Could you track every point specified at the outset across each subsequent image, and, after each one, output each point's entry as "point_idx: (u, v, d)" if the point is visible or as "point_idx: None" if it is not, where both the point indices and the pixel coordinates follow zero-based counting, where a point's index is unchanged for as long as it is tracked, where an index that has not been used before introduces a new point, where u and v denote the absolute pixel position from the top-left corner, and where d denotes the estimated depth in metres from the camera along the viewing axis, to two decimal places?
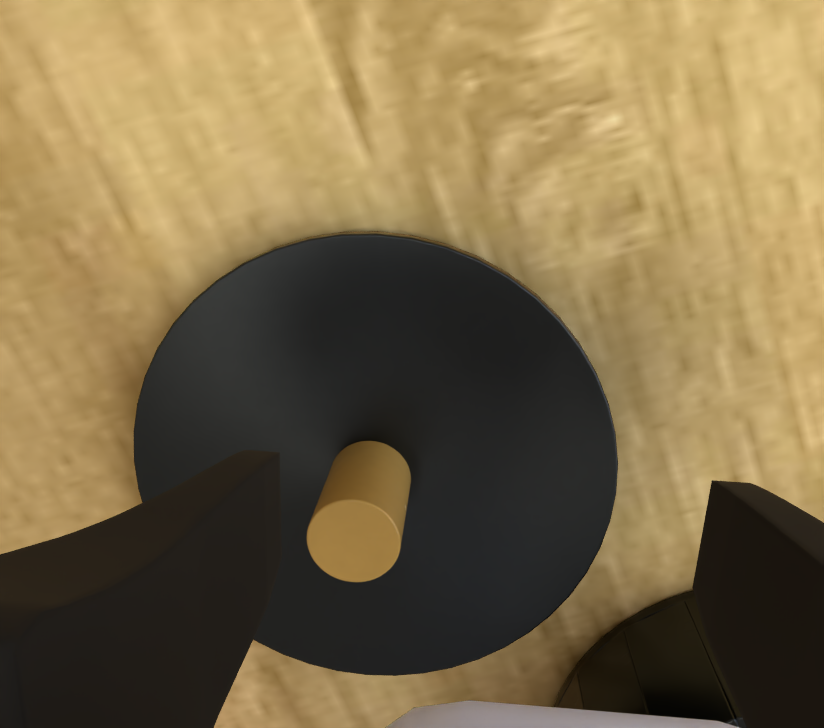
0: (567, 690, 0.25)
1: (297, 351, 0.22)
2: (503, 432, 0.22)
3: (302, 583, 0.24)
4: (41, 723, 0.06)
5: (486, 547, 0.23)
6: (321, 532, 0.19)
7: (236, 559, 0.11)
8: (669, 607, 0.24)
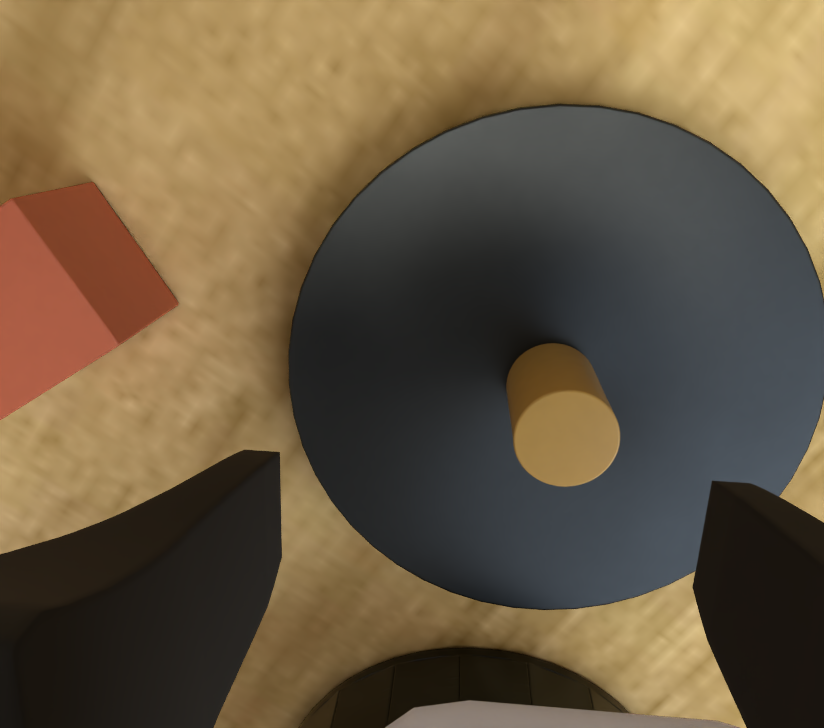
0: (435, 659, 0.25)
1: (643, 245, 0.19)
2: (671, 467, 0.21)
3: (389, 389, 0.21)
4: (41, 723, 0.06)
5: (545, 520, 0.22)
6: (558, 406, 0.17)
7: (236, 559, 0.11)
8: (573, 680, 0.25)
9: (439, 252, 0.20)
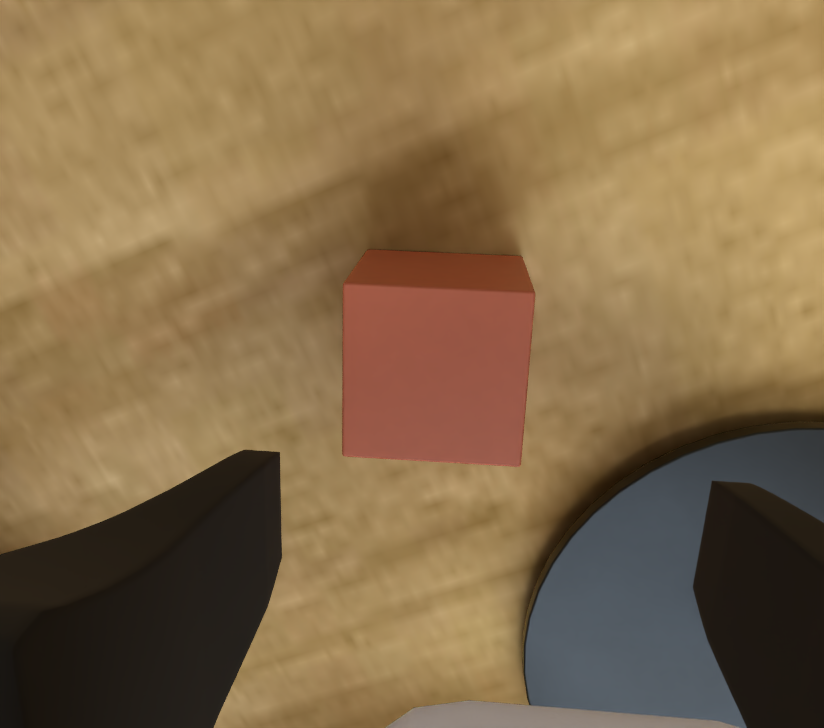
0: None
1: None
2: None
3: (651, 592, 0.21)
4: (41, 723, 0.06)
5: None
6: None
7: (236, 560, 0.11)
8: None
9: None
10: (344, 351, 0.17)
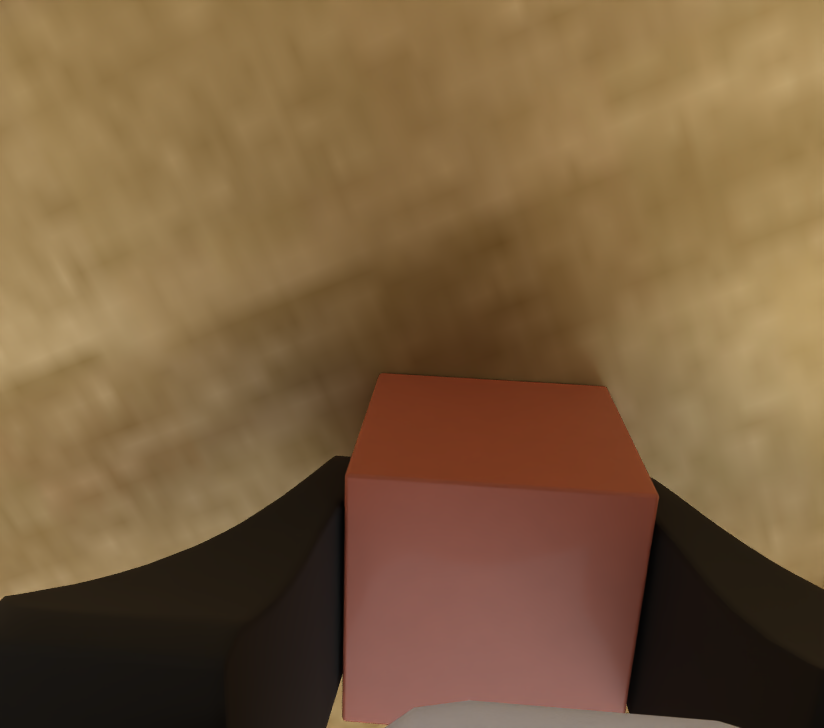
0: None
1: None
2: None
3: None
4: None
5: None
6: None
7: (343, 567, 0.11)
8: None
9: None
10: (346, 574, 0.10)
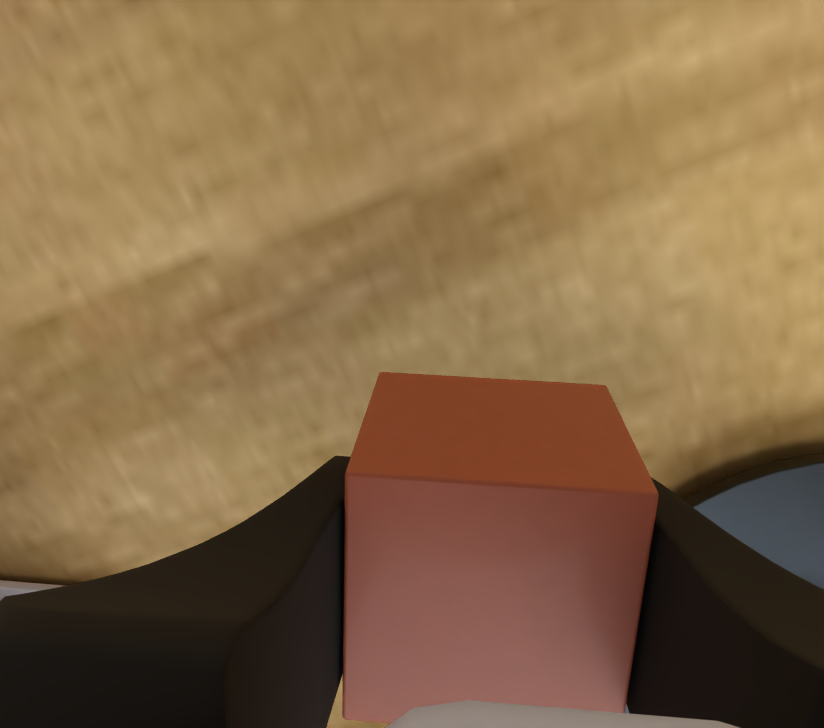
0: None
1: None
2: None
3: None
4: None
5: None
6: None
7: (343, 567, 0.11)
8: None
9: None
10: (346, 573, 0.10)
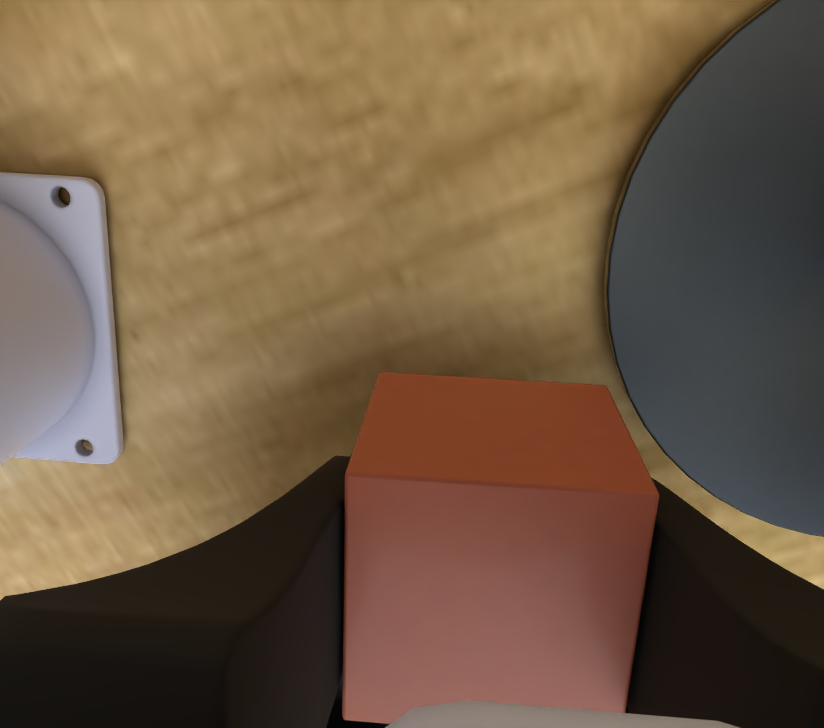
0: None
1: None
2: None
3: (767, 175, 0.18)
4: None
5: (794, 407, 0.19)
6: None
7: None
8: None
9: None
10: (346, 573, 0.10)
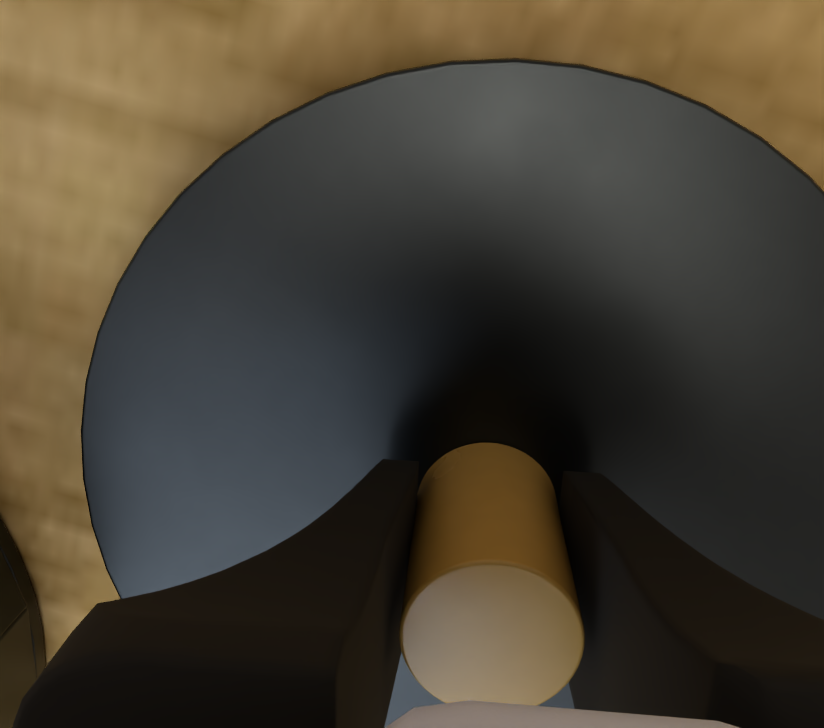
0: None
1: (734, 550, 0.13)
2: (422, 689, 0.15)
3: (387, 272, 0.12)
4: None
5: None
6: (546, 612, 0.10)
7: (399, 571, 0.11)
8: (34, 673, 0.16)
9: (647, 276, 0.12)
10: None
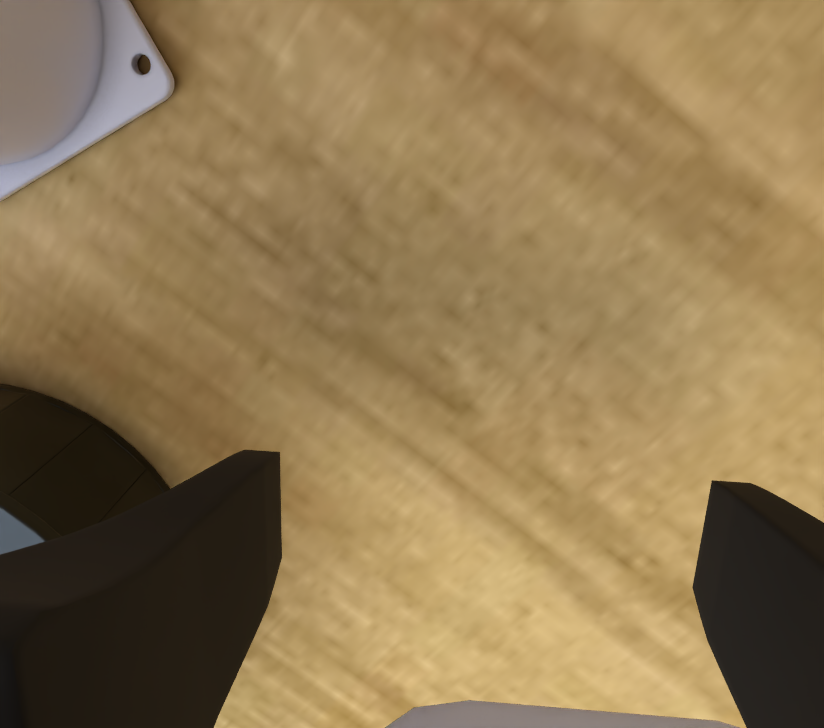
0: None
1: None
2: None
3: None
4: (40, 724, 0.06)
5: None
6: None
7: (236, 560, 0.11)
8: None
9: None
10: None
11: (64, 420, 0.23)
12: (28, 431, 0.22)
